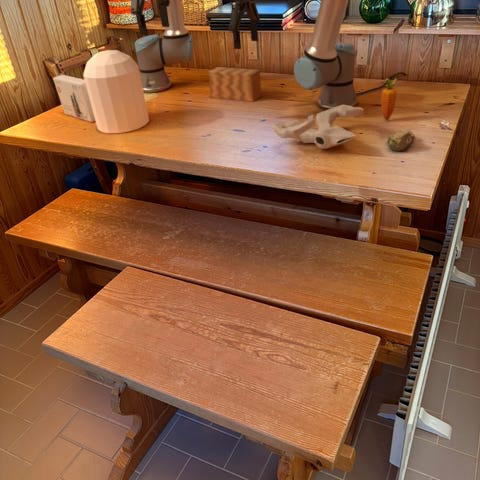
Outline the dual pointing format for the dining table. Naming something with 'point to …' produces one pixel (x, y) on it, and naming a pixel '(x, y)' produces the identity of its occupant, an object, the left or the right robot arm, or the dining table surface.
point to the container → (115, 92)
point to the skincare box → (74, 97)
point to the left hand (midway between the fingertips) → (155, 30)
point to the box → (235, 83)
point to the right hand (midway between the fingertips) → (246, 44)
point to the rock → (400, 140)
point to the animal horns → (320, 128)
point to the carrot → (388, 99)
